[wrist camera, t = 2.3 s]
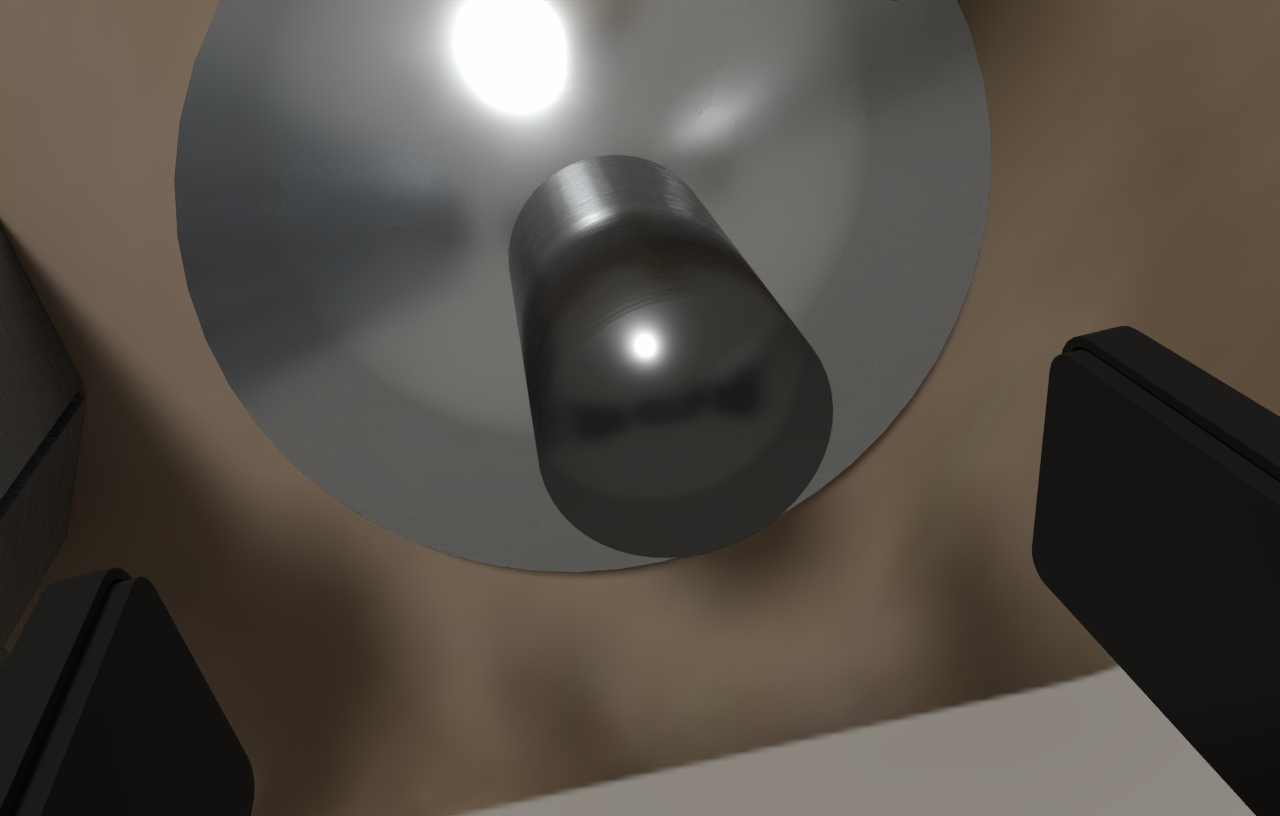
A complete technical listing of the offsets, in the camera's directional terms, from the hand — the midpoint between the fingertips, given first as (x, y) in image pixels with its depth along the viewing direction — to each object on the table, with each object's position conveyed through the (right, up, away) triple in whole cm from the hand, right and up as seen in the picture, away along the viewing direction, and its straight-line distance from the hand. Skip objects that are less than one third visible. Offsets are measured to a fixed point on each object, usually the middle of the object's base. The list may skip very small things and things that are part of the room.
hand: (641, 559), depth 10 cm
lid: (-1, +5, +7) cm, 9 cm away
